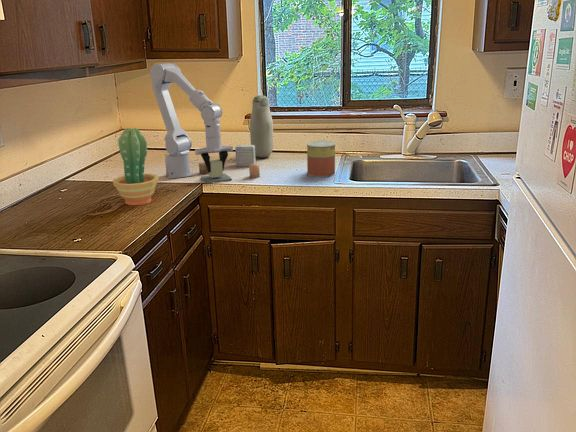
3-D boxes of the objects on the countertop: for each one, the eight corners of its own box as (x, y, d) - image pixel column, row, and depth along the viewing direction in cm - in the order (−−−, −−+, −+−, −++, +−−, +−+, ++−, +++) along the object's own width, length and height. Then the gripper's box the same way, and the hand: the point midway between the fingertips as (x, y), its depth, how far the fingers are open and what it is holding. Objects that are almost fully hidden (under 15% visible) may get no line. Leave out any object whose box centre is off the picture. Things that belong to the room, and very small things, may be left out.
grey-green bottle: (247, 158, 244) (244, 96, 235) (261, 154, 251) (259, 93, 242) (263, 160, 238) (261, 97, 229) (277, 156, 246) (276, 94, 237)
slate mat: (206, 183, 203) (206, 181, 203) (200, 178, 211) (200, 176, 211) (231, 180, 207) (231, 178, 206) (225, 175, 214) (225, 173, 214)
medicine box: (255, 164, 232) (255, 144, 229) (254, 166, 228) (253, 146, 225) (238, 164, 233) (237, 144, 230) (236, 166, 228) (235, 146, 225)
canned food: (339, 175, 211) (339, 145, 207) (312, 177, 208) (312, 147, 204) (329, 168, 221) (329, 140, 217) (303, 171, 218) (303, 142, 214)
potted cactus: (165, 194, 191) (158, 124, 182) (155, 207, 176) (147, 132, 168) (122, 195, 191) (113, 125, 183) (109, 208, 176) (98, 133, 168)
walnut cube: (204, 175, 216) (203, 165, 215) (199, 173, 219) (198, 163, 218) (212, 173, 218) (212, 163, 217) (208, 171, 222) (207, 162, 220)
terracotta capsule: (251, 178, 209) (251, 166, 207) (248, 176, 212) (247, 164, 211) (261, 177, 210) (260, 165, 209) (257, 175, 214) (257, 163, 212)
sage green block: (211, 177, 205) (210, 162, 203) (208, 175, 209) (207, 160, 207) (223, 176, 207) (222, 161, 205) (219, 173, 211) (219, 159, 209)
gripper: (197, 139, 197) (199, 175, 201) (234, 136, 202) (236, 171, 207) (192, 136, 203) (195, 171, 208) (229, 133, 208) (231, 167, 213)
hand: (215, 171), depth 208 cm, fingers open, 5 cm apart
